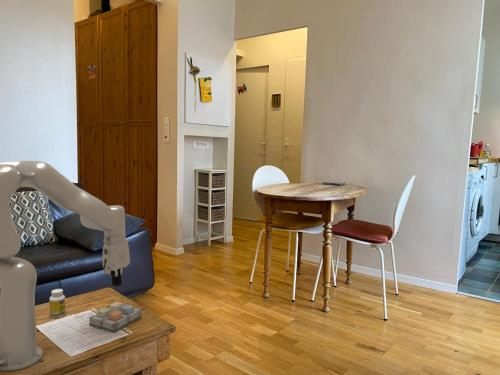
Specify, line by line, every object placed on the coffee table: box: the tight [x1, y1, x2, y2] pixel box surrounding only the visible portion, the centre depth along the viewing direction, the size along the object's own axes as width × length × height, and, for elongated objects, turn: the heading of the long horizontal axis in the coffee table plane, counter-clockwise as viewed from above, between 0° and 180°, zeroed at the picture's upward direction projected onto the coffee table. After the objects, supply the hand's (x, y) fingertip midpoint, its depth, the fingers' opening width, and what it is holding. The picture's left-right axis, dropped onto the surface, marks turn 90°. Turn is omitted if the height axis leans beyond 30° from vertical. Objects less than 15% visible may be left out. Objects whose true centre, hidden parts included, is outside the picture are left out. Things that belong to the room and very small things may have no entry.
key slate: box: [121, 304, 135, 315], centre depth 147 cm, size 3×3×3 cm
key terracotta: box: [109, 310, 123, 322], centre depth 142 cm, size 3×3×3 cm
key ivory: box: [109, 301, 124, 311], centre depth 149 cm, size 3×3×3 cm
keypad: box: [88, 304, 142, 334], centre depth 146 cm, size 14×12×3 cm
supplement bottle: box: [49, 288, 66, 318], centre depth 150 cm, size 5×5×10 cm
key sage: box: [96, 307, 111, 318], centre depth 144 cm, size 3×3×3 cm
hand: (116, 285), depth 149 cm, fingers closed
